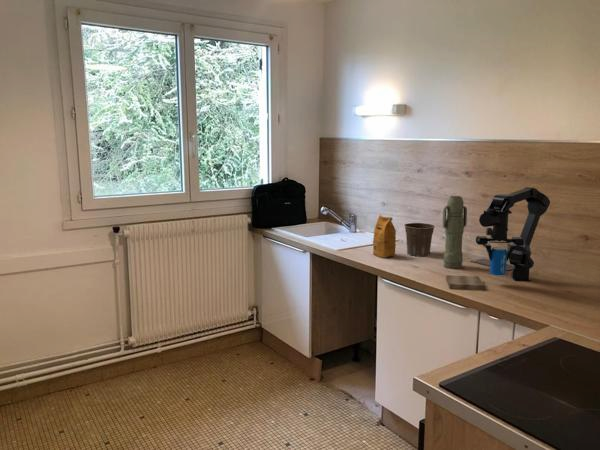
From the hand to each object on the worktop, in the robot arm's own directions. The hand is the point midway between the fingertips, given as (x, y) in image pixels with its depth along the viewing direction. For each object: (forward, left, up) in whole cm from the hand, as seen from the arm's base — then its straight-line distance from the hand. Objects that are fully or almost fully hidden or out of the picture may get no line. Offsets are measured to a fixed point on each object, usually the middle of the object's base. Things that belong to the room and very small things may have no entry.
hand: (498, 260), depth 215 cm
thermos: (+15, -29, -11) cm, 34 cm away
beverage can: (0, 0, -7) cm, 7 cm away
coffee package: (+49, -49, -11) cm, 70 cm away
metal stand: (+14, +2, -11) cm, 18 cm away
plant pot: (+30, -55, -11) cm, 64 cm away
